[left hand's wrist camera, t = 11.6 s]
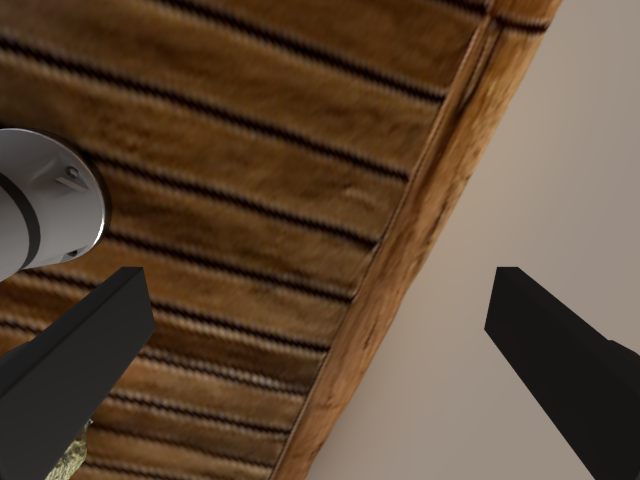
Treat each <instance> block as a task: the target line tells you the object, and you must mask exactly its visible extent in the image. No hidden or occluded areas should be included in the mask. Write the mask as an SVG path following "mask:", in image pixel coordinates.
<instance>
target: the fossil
mask: <svg viewBox="0 0 640 480" xmlns="http://www.w3.org/2000/svg"><path fill="white" fill-rule="evenodd" d="M92 422H93V421H92V420H91V419H89V421H88V422H87V423H86V425H85V426H84V427H83V429H82V430H81V431H80V433H79V434H78V435H77V437H76V438H75V440H74V441H73V442H72V444H71V445H70V446H69V448H68V449H67V450H66V452H65V453H64V454H63V456H62V457H61V458H60V460H59V461H58V463H57V464H56V465H55V467H54V468H53V469H52V471H51V472H50V473H49V475H48V476H47V477H46V479H45V480H68V479H69V478H70V477H71V475H72V474H73V473H74V472H75V471H76V470H77V469H78V468H79V466H80V465H81V464H82V462H83V461H84V460H85V458H86V453H87V445H86V443H87V438H86V434H85V433H86V431H87V429H88V427H89V425H90V424H91V423H92Z"/></svg>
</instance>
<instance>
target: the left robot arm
mask: <svg viewBox="0 0 640 480" xmlns="http://www.w3.org/2000/svg"><path fill="white" fill-rule="evenodd" d="M111 214H112V211H111V200H110V195H109V192H108V189H107V186H106V184H105V182H104V180H103V178H102V176H101V174H100V173H99V171H98V169H97V168H96V167H95V165H94V164H93V163H92V162H91V161H90V159H89V158H88V157H87V156H86V155H85V154H84V153H83V152H81V151H80V150H79V149H78V148H77V147H75V146H74V145H73V144H71V143H70V142H68V141H66V140H65V139H63V138H61V137H59V136H57V135H54V134H52V133H50V132H46V131H43V130H39V129H33V128H11V129H0V282H1V281H3V280H4V279H6V278H8V277H10V276H11V275H13V274H15V273H17V272H18V271H20V270H22V269H27V268H33V267H39V266H45V265H51V264H57V263H62V262H67V261H71V260H73V259H76V258H78V257H80V256H82V255H83V254H85V253H87V252H88V251H90V250H91V249H93V248H94V247H96V246H97V245H98V244H99V243H100V242H101V240H102V239H103V238H104V236H105V235H106V233H107V231H108V228H109V225H110V221H111ZM155 330H156V328H155V323H154V318H153V313H152V308H151V303H150V299H149V294H148V289H147V284H146V279H145V275H144V270H143V267H122V268H120V269H119V270H118V271H117V272H115V273H114V274H113V275H112V276H110V277H109V278H108V279H107V280H105V281H104V282H103V283H102V284H101V285H99V286H98V287H97V288H96V289H94V290H93V291H92V292H91V293H89V294H88V295H87V296H86V297H85V298H83V299H82V300H81V301H80V302H78V303H77V304H76V305H75V306H73V307H72V308H71V309H70V310H68V311H67V312H66V313H65V314H64V315H62V316H61V317H60V318H59V319H57V320H56V321H55V322H54V323H52V324H51V325H50V326H49V327H47V328H46V329H45V330H44V331H43V332H41V333H40V334H39V335H38V336H36V337H35V338H34V339H33V340H31V341H30V342H26V343H24V344H22V345H20V346H18V347H16V348H15V349H13V350H11V351H9V352H7V353H5V354H4V355H3V356H1V357H0V480H45V479H46V477H47V476H48V475H49V473H50V472H51V471H52V469H53V468H54V467H55V465H56V464H57V463H58V461H59V460H60V458H61V457H62V456H63V454H64V453H65V452H66V450H67V449H68V448H69V446H70V445H71V444H72V442H73V441H74V440H75V438H76V437H77V435H78V434H79V433H80V431H81V430H82V429H83V427H84V426H85V425H86V423H87V422H88V421H89V419H90V418H91V416H92V415H93V414H94V412H95V411H96V410H97V408H98V407H99V406H100V404H101V403H102V402H103V400H104V399H105V397H106V396H107V395H108V393H109V392H110V391H111V389H112V388H113V387H114V385H115V384H116V383H117V381H118V380H119V378H120V377H121V376H122V374H123V373H124V372H125V370H126V369H127V368H128V366H129V365H130V364H131V362H132V361H133V360H134V358H135V357H136V355H137V354H138V353H139V351H140V350H141V349H142V347H143V346H144V345H145V343H146V342H147V341H148V339H149V338H150V336H151V335H152V334H153V332H154V331H155ZM484 330H485V331H486V332H487V334H488V335H489V336H490V338H491V339H492V341H493V342H494V343H495V345H496V346H497V347H498V349H499V350H500V351H501V353H502V354H503V355H504V357H505V358H506V359H507V361H508V362H509V363H510V365H511V366H512V368H513V369H514V370H515V372H516V373H517V374H518V376H519V377H520V378H521V380H522V381H523V383H524V384H525V385H526V387H527V388H528V389H529V391H530V392H531V393H532V395H533V396H534V397H535V399H536V400H537V402H538V403H539V404H540V406H541V407H542V408H543V410H544V411H545V412H546V414H547V415H548V416H549V418H550V419H551V420H552V422H553V423H554V425H555V426H556V427H557V429H558V430H559V431H560V433H561V434H562V435H563V437H564V438H565V439H566V441H567V442H568V443H569V445H570V446H571V448H572V449H573V450H574V452H575V453H576V454H577V456H578V457H579V458H580V460H581V461H582V463H583V464H584V465H585V467H586V468H587V469H588V471H589V472H590V473H591V475H592V476H593V477H594V479H595V480H640V356H639V355H638V354H637V353H636V352H634V351H632V350H630V349H628V348H626V347H624V346H622V345H621V344H619V343H617V342H615V341H613V340H607V339H606V338H605V337H604V336H602V335H601V334H600V333H599V332H597V331H596V330H595V329H594V328H593V327H591V326H590V325H589V324H588V323H586V322H585V321H584V320H583V319H581V318H580V317H579V316H578V315H576V314H575V313H574V312H573V311H572V310H570V309H569V308H568V307H566V306H565V305H564V304H563V303H562V302H560V301H559V300H558V299H557V298H555V297H554V296H553V295H552V294H551V293H549V292H548V291H547V290H546V289H544V288H543V287H542V286H541V285H539V284H538V283H537V282H536V281H535V280H533V279H532V278H531V277H530V276H528V275H527V274H526V273H525V272H523V271H522V270H521V269H520V268H518V267H497V270H496V275H495V279H494V284H493V289H492V294H491V299H490V303H489V308H488V313H487V318H486V323H485V328H484Z"/></svg>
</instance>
